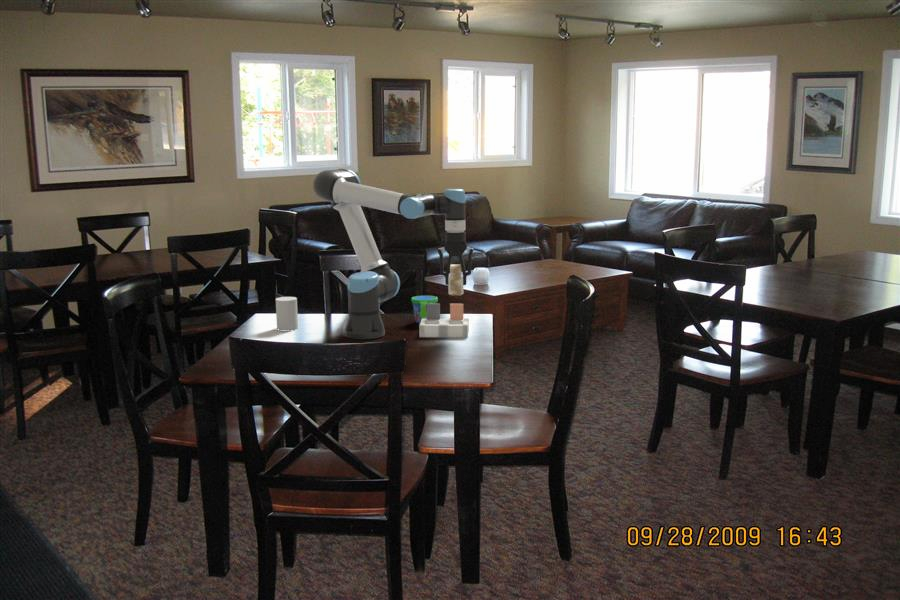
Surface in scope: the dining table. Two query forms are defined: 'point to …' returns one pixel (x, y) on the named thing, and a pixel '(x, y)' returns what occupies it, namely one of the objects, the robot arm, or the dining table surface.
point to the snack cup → (422, 306)
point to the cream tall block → (455, 279)
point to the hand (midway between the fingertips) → (456, 293)
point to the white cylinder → (286, 313)
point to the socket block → (444, 322)
